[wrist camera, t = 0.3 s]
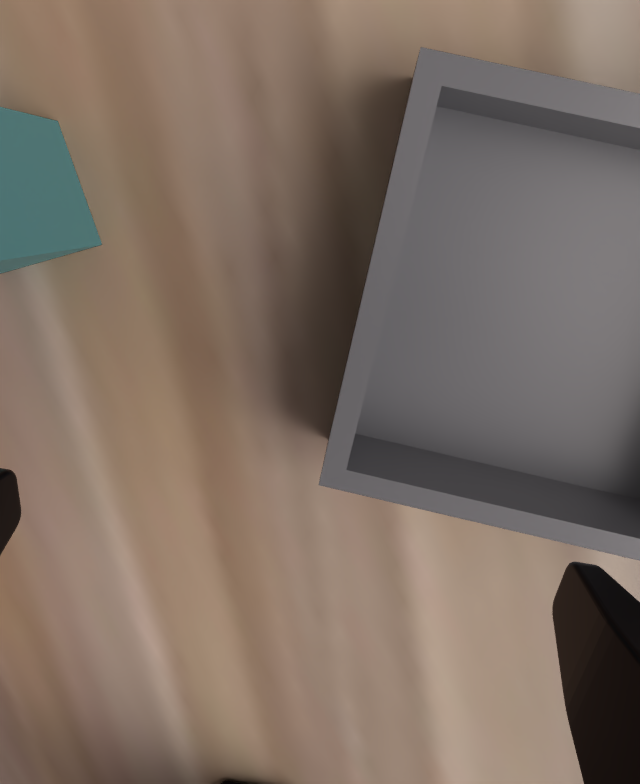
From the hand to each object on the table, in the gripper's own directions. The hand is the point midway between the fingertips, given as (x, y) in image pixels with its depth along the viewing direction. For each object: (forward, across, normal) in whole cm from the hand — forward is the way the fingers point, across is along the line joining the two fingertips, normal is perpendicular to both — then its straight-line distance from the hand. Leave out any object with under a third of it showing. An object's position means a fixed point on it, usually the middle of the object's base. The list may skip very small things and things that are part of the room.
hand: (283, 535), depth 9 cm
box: (+14, -7, 0) cm, 16 cm away
